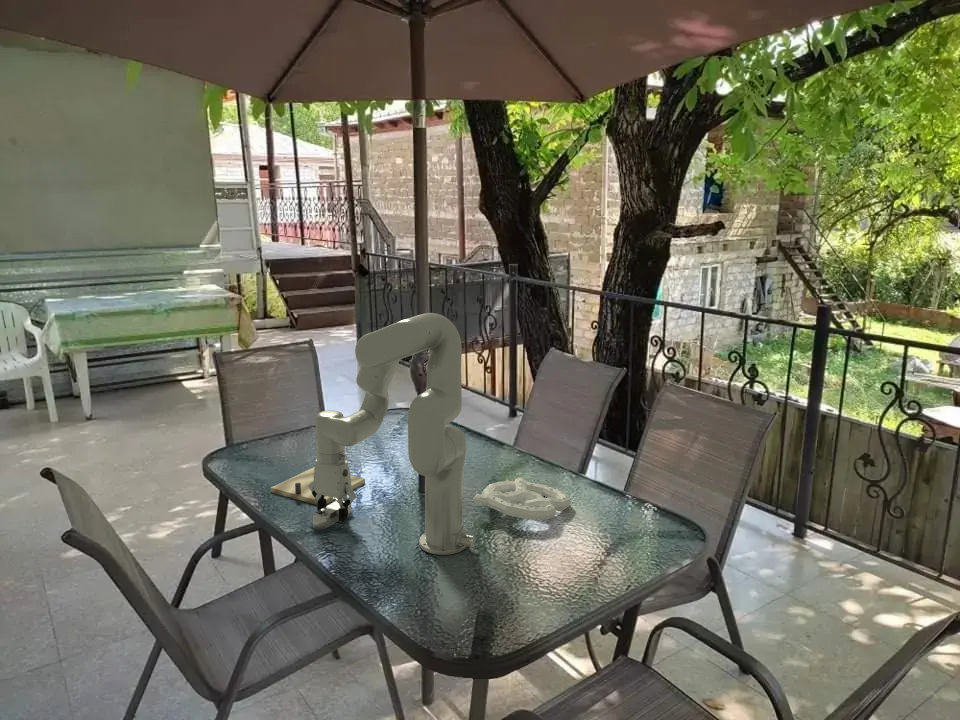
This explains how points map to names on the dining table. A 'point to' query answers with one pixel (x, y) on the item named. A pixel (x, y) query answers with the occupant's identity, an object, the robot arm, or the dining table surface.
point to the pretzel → (523, 499)
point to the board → (306, 487)
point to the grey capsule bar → (328, 515)
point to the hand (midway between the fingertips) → (332, 516)
